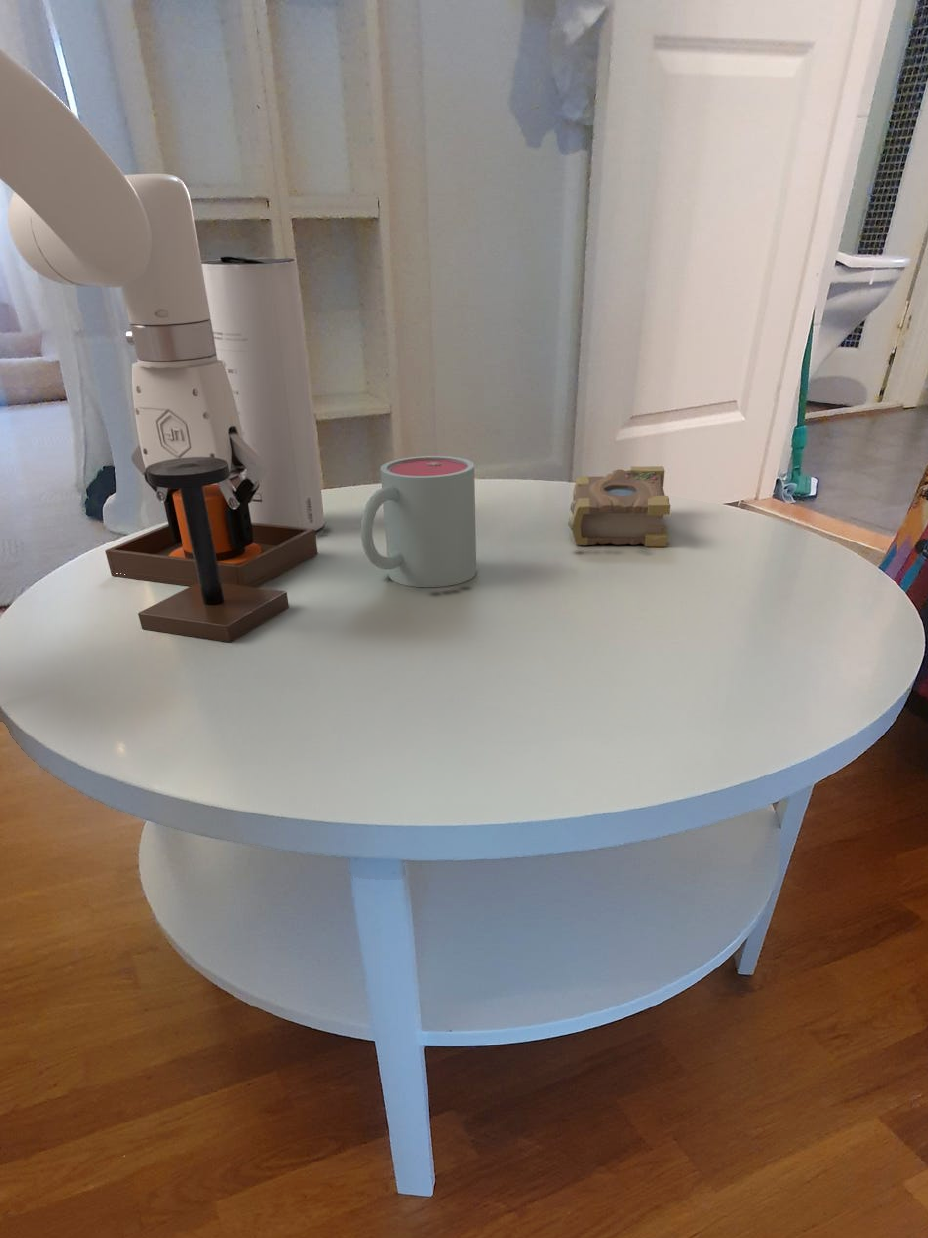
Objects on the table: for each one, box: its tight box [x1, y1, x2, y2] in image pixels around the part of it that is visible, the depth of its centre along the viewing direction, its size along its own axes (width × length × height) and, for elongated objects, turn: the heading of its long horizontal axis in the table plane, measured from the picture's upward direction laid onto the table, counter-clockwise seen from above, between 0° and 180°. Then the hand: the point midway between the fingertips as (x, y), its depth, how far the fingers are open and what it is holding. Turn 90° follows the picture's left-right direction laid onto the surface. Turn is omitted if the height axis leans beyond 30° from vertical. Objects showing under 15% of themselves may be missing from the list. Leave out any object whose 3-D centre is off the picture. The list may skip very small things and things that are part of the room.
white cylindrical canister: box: [201, 255, 325, 532], centre depth 104 cm, size 11×10×26 cm
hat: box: [169, 484, 262, 565], centre depth 100 cm, size 10×10×7 cm
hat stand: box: [137, 457, 290, 643], centre depth 85 cm, size 10×10×13 cm
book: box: [567, 465, 671, 547], centre depth 107 cm, size 15×11×5 cm
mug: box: [360, 455, 477, 588], centre depth 94 cm, size 14×9×10 cm
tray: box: [105, 523, 319, 588], centre depth 101 cm, size 17×14×3 cm
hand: (212, 541), depth 101 cm, fingers open, 7 cm apart
